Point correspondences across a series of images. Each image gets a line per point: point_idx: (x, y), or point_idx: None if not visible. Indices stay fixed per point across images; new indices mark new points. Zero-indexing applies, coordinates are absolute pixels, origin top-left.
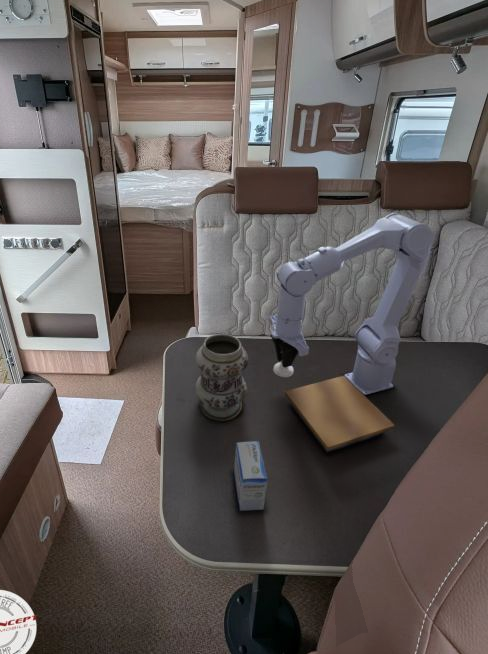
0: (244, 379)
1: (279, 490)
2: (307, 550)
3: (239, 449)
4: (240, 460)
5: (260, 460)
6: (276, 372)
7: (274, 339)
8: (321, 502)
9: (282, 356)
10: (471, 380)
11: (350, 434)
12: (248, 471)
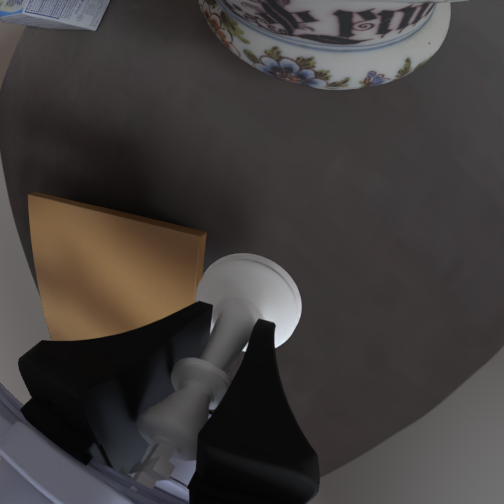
0: (294, 68)
1: (57, 65)
2: (10, 74)
3: None
4: None
5: (4, 12)
6: (238, 259)
7: (199, 438)
8: (26, 126)
9: (161, 334)
10: None
11: (40, 265)
12: None
